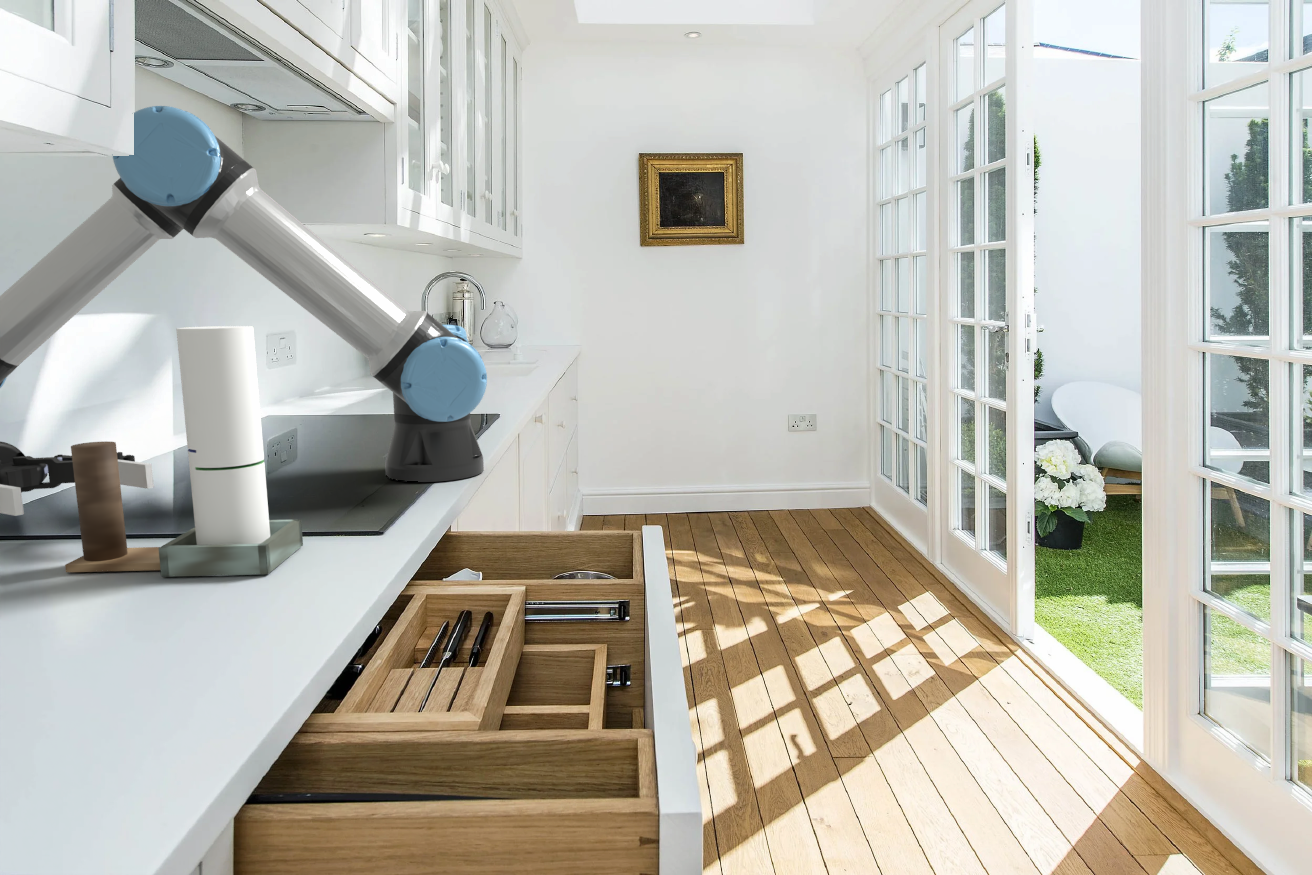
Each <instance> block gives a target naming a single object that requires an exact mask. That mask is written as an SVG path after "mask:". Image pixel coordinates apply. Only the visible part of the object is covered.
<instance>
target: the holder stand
mask: <svg viewBox="0 0 1312 875" xmlns="http://www.w3.org/2000/svg"><path fill="white" fill-rule="evenodd" d="M117 449H118V448H117V443H116V441H107V440H106V441H91V442H83V443H77V444H72V445H71V446H70V453H71V456H72V462H73V470H74V479H75V483H74V485H75V494H76V503H77V511H78V520H79V528H80V531H79V532H80V536H81V537H80V538H81V545H82V546H81V547H82V548H81V549H82V556H79V557H78V558H75V559H73V560H72V561H69V562H68V563H66V564H64V568H65V573H93V572H129V571H130V572H133V571H134V572H136V571H137V572H138V571H139V572H140V571H141V572H142V571H160V576H161V578H163V577H166V578H167V577H201V576H202V577H204V576H205V577H206V576H208V577H210V576H239V575H241V576H243V575H244V576H245V575H246V576H247V575H269V574H270V573H271V572H273V571H274V570H275V569H276V568H277V567H279V566H280V565H281V564H282V563H284V562H285V561H286V560H287V559H288V558H289V557H291V556H292V555H293V554H294V553H295V552H297V551H299V549H301V548H302V547H303V545H304V542H303V540H304V539H303V526H302V519H298V518H297V519H269V526H270V537H269V538H268V539H266V540H265V541H264V542H262V543H261V544H220V545H197V541H196V531H195V526H194V527H193V528H190V529H189V530H188V531H185V532H184V533H182V534H181V535H178V536H177V537H175V538H173V539H172V540H170V541H168V542H166V543H165V544H163V545H161V546H147V547H146V546H145V547H143V546H142V547H140V546H139V547H128V545H127V535H126V524H125V515H124V507H123V497H122V489H121V488H122V487H121V486H122V485H120V477H119V468H118V459H117V453H118V451H117Z"/></svg>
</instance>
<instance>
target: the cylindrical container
mask: <svg viewBox="0 0 1312 875" xmlns="http://www.w3.org/2000/svg"><path fill="white" fill-rule="evenodd" d="M176 338H177V340H176V341H177V348H178V349H177V350H178V360H179V369H180V370H179V372H180V381H181V391H182V392H181V393H182V402H183V404H182V405H183V413H184V414H183V415H184V422H185V433H186V444H187V455H188V456H187V458H188V464H189V465H188V466H189V467H188V468H189V476H190V488H191V497H192V498H191V499H192V507H193V518H194V519H193V520H194V527H195V531H196V541H197V545H220V544H261V543H262V542H264V541H265V540H266V539H268V538H269V537H270V526H269V520H270V515H269V504H268V489H267V478H266V466H265V460H264V459H265V453H264V441H263V439H264V438H263V428H262V419H261V418H262V415H261V414H262V413H261V403H260V391H259V379H258V368H257V366H258V365H257V356H256V354H257V353H256V342H255V332H254V326H252V325H251V326H250V325H220V326H219V325H216V326H215V325H214V326H212V325H211V326H190V327H189V326H186V327H185V326H184V327H176Z"/></svg>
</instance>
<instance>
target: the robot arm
mask: <svg viewBox="0 0 1312 875" xmlns="http://www.w3.org/2000/svg"><path fill="white" fill-rule="evenodd" d="M133 113H134V155H129V156H113V155H112V162H113V165H114V167H115V169H116V172H117V174H118V175H119V178H118V179H117V180H116V181H114V183H113V184H111V187H112V188H111V189H112V190H111V191H112V192H111V197H110V198H109V199H108V200H107V201H106V202H104V204H102V205H101V206H100V207H99V208H98V209H96V211H94V212H93V213H92V214H91V215H90V216H89V217H88V218H86V220H84V221H83V222H82V223H81V224H79V226H77V227H76V228H75V229H74V230H73V231H72V232H71V233H70V234H69V235H67V236H66V237H65V238H64V239H63V240H62V241H61V242H59V243H58V244H57V245H56V246H55V247H54V248H52V249H51V250H50V251H49V252H47V254H46V255H45V256H43V257H42V258H41V259H40V260H39V261H38V262H37V263H36V264H35V265H33V266H32V267H31V268H30V269H28V271H26V272H25V273H24V274H23V275H22V276H21V277H20V278H18V280H16V281H15V282H14V283H13V284H12V285H11V286H9V287H8V288H6V290H5V291H4V292H3V293H2V294H1V295H0V389H2V387H3V386H4V384H5V382H6V380H7V378H8V377H9V375H11V374H12V373H13V372H14V371H15V370H16V369H17V367H20V365H21V364H22V363H23V362H25V360H26V359H28V358H29V357H30V355H32V354H34V352H35V351H36V350H38V349H39V347H41V346H42V345H43V344H44V343H45V342H46V341H47V340H49V339H50V338H51V337H53V335H55V333H57V332H58V331H59V330H60V329H61V328H62V327H63V326H64V325H66V323H68V322H70V320H71V319H72V318H73V317H75V315H76V314H78V313H80V311H81V310H82V309H84V308H85V307H86V306H87V305H88V304H89V303H90V302H92V301H93V299H95V298H96V297H97V296H98V295H100V293H101V292H102V291H103V290H105V288H107V287H108V286H109V285H111V283H113V281H115V280H117V278H118V277H119V276H121V274H123V273H124V272H125V271H126V270H127V269H128V268H129V267H131V266H132V265H133V264H134V263H135V262H136V261H138V260H139V258H141V256H143V255H144V254H145V253H146V252H147V251H148V250H150V249H151V248H152V247H153V246H154V245H156V243H157V242H158V241H159V240H173V239H174V238H175V237H176V236H178V235H179V234H180V233H181V232H182V231H183V230H184V231H185V232H187V233H188V234H189V235H191V236H192V237H193V238H195V239H205V238H207V239H209V238H211V239H215V240H216V241H217V242H219V243H220V244H222V245H223V246H224V247H226V249H228V250H229V251H230V252H232V253H233V254H234V255H235V256H237V257H238V258H240V259H241V260H242V261H243V262H244V263H246V264H247V265H248V266H250V267H251V268H252V269H254V270H255V271H256V272H257V273H258V274H260V275H261V276H262V277H264V278H265V279H266V280H267V281H268V282H270V283H271V284H272V285H274V286H275V287H276V288H278V289H279V290H280V291H281V292H282V293H284V294H285V295H286V296H288V297H289V298H290V299H292V300H293V301H295V303H297V304H298V305H299V306H300V307H301V308H303V309H304V310H305V311H307V312H308V313H309V314H310V315H312V316H313V317H314V318H316V319H317V320H318V321H320V322H321V323H322V324H324V325H325V326H326V327H327V328H329V329H330V330H331V331H332V332H333V333H334V334H336V335H338V336H339V337H340V338H341V339H342V340H343V341H345V342H346V343H347V344H349V345H350V346H352V347H353V348H354V349H355V350H356V351H357V352H359V353H360V354H361V355H363V356H364V357H365V358H367V361H368V366H369V373H370V376H371V377H373V378H374V379H375V380H377V381H378V382H379V383H381V384H382V385H383V386H384V387H386V388H387V389H388V390H389V391H391V392H392V399H393V416H394V417H393V418H394V419H393V420H394V422H393V423H394V429H393V433H392V436H391V439H390V442H389V445H388V446H389V447H388V449H387V450H388V451H387V454H386V458H385V462H384V463H385V464H384V466H385V467H384V469H385V476H386V475H387V476H388V477H389V478H388V477H387V478H388V479H390V478H393V479H397V480H396V481H398V480H405V481H404V482H407V481H418V482H417V483H436V482H448V481H456V480H462V479H466V478H471V477H475V476H477V475H479V474H482V473H483V472H484V471H485V470H484V469H485V466H484V456H483V453H482V450H481V448H480V445H479V442H478V440H477V437H476V435H475V431H474V429H473V427H472V422H471V413H472V412H473V411H474V410H475V409H476V408H477V407H478V406H479V405H480V403H481V402H482V400H483V398H484V395H485V393H486V390H487V384H488V375H487V374H488V372H487V368H486V366H485V363H484V361H483V359H482V356H481V354H480V352H479V351H478V350H477V349H476V348H475V347H474V346H473V345H472V344H470V343H469V340H468V336H467V335H468V334H467V332H466V329H465V328H464V327H463V326H461V325H454V324H441V323H440V321H438V320H437V319H436V318H434V317H433V316H432V315H431V314H430V313H428V312H427V310H416V311H412V310H408V309H407V308H405V307H404V306H403V305H402V304H401V303H399V302H398V301H397V300H396V299H395V298H393V297H392V296H391V295H390V294H388V293H387V292H386V291H385V290H383V289H382V288H381V287H380V286H379V285H378V284H376V283H375V282H374V281H372V280H371V279H370V278H369V277H368V276H367V275H365V274H364V273H363V272H362V271H360V269H358V268H357V267H356V266H354V265H353V264H352V263H351V262H350V261H349V260H347V259H346V258H345V257H344V256H342V254H340V253H339V252H338V251H337V250H335V249H334V248H333V247H331V246H330V245H329V244H328V243H327V242H325V241H324V239H322V238H321V237H319V236H318V235H317V234H315V233H314V232H313V231H312V230H311V229H309V227H308V226H306V225H305V224H304V223H302V222H301V221H300V220H299V219H297V218H296V216H294V215H293V214H292V213H290V212H289V211H288V210H287V209H286V208H284V207H283V206H282V205H281V204H280V203H278V202H277V201H276V200H275V199H274V198H272V197H271V196H270V195H268V194H267V192H265V191H263V189H262V188H260V184H259V179H258V173H257V169H255V168H254V166H252V165H251V164H250V163H248V162H247V161H246V160H245V159H244V158H242V157H241V156H240V155H239V154H238V153H236V152H235V151H234V150H233V149H232V148H231V147H229V146H228V145H227V144H226V143H225V142H223V141H222V139H220V138H218V137H217V136H216V135H215V134H214V132H213V131H212V130H211V128H210V127H209V126H208V125H207V123H206V122H205V121H204V120H202V119H201V118H199V117H198V116H196V115H195V114H193V113H191V112H189V111H187V110H183V109H181V108H177V107H175V106H170V105H169V106H168V105H152V106H148V107H147V106H146V107H144V108H140V109H138V110H136V111H135V112H133ZM117 459H118V468H119V477H120V486H126V487H134V488H135V487H136V488H140V489H148V490H149V489H152V488H155V486H154V485H155V484H154V475H153V466H152V463H150V462H141V461H136V458H135V455H133V454H126V455H124V453H123V452H121V451H117ZM46 478H48V480H49V481H46V482H44V481H45V480H46ZM393 479H392V480H393ZM62 484H75V479H74V470H73V462H72V455H66V454H57V455H54V456H51V457H50V456H49V457H48V456H47V457H33V456H30V455H25V454H24V453H23V452H22V451H21V450H20V449H19V448H18V447H16V446H15V445H13V444H11V443H8V442H5V441H0V514H3V515H9V516H13V517H14V516H15V517H17V516H21V515H24V514H25V511H24V504H23V503H24V502H23V497H22V493H25V492H27V493H29V492H31V491H34V490H40V489H42V490H43V489H44V490H45V489H55V488H57V487H59V486H61V485H62Z"/></svg>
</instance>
